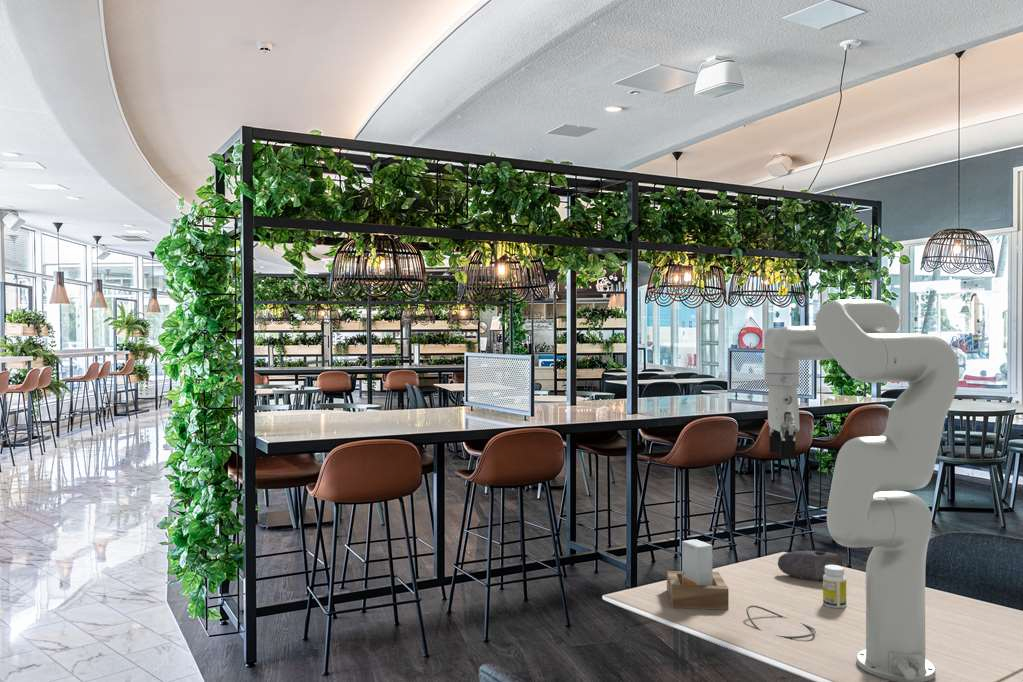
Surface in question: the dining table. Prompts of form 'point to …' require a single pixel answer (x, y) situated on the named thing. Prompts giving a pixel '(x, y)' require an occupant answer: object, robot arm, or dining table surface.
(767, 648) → the dining table surface
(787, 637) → the loop
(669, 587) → the holder
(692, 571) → the skincare box
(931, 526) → the robot arm
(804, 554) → the perforated stone tool
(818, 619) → the dining table surface
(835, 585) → the supplement bottle
